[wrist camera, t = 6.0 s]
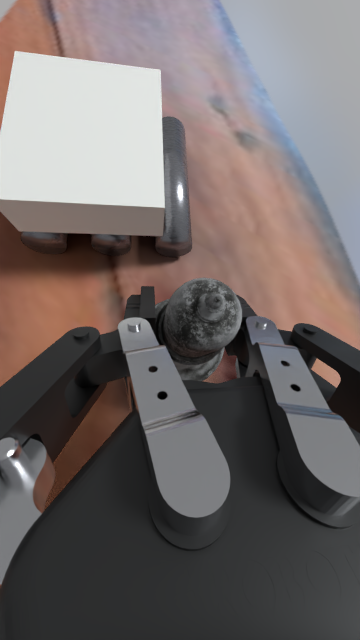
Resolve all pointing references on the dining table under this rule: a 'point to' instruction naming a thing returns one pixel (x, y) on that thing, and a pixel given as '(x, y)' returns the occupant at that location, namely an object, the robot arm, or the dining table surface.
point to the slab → (82, 147)
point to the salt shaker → (198, 326)
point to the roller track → (175, 216)
